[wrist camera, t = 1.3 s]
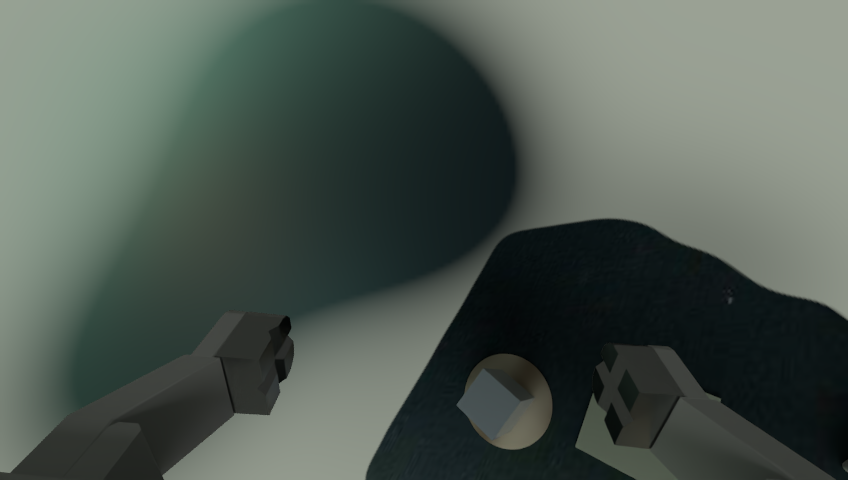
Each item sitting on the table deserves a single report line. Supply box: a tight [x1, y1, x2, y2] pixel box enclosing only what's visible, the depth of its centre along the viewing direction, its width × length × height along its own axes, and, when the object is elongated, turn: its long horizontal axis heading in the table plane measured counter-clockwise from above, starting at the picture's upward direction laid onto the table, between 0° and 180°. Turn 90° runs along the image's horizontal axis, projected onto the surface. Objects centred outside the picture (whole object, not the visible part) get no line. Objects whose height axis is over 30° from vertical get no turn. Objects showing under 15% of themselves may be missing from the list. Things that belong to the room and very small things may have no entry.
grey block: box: [457, 368, 535, 441], centre depth 40 cm, size 5×5×7 cm
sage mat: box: [575, 393, 721, 480], centre depth 37 cm, size 10×10×1 cm
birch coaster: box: [465, 354, 552, 449], centre depth 43 cm, size 10×10×1 cm
